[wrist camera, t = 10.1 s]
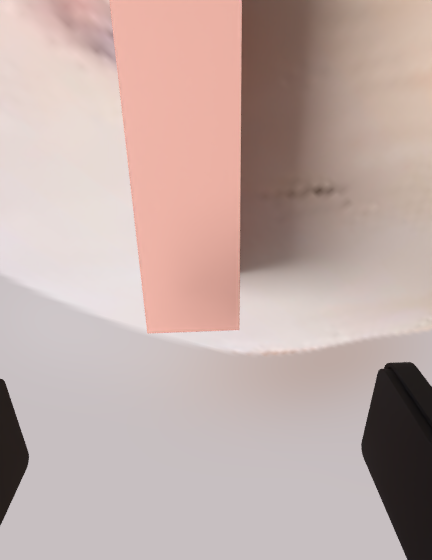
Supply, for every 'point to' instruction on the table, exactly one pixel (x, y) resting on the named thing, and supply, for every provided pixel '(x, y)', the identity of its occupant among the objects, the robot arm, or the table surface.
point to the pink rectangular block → (183, 155)
